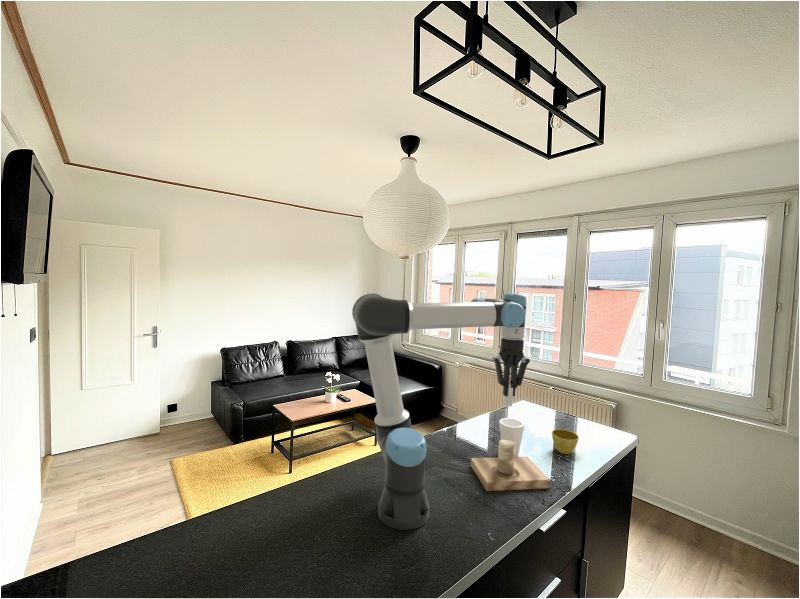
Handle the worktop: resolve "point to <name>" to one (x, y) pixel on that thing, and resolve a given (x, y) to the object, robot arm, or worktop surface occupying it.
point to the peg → (506, 457)
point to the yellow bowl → (564, 440)
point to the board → (522, 477)
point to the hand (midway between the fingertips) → (508, 404)
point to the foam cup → (512, 432)
